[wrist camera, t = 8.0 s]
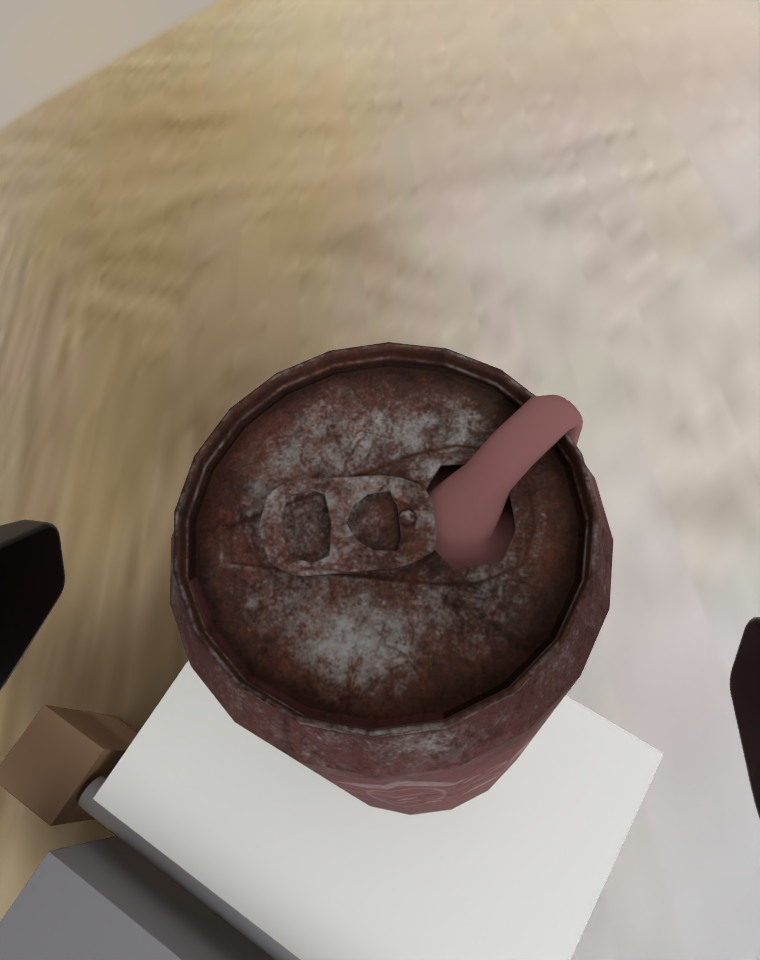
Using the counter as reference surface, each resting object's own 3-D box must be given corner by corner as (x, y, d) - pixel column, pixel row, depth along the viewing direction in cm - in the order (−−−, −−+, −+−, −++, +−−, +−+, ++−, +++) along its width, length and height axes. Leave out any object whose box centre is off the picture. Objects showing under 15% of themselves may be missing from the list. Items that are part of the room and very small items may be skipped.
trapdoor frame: (554, 1146, 18) (593, 1261, 13) (73, 775, 22) (-10, 777, 17) (590, 1062, 18) (637, 1148, 14) (115, 716, 22) (44, 704, 18)
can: (571, 708, 21) (751, 499, 9) (413, 871, 19) (354, 903, 7) (428, 567, 23) (409, 245, 11) (277, 701, 22) (56, 501, 9)
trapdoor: (419, 1252, 16) (415, 1424, 12) (34, 923, 19) (-78, 968, 14) (644, 761, 19) (703, 760, 15) (289, 547, 22) (257, 497, 18)
